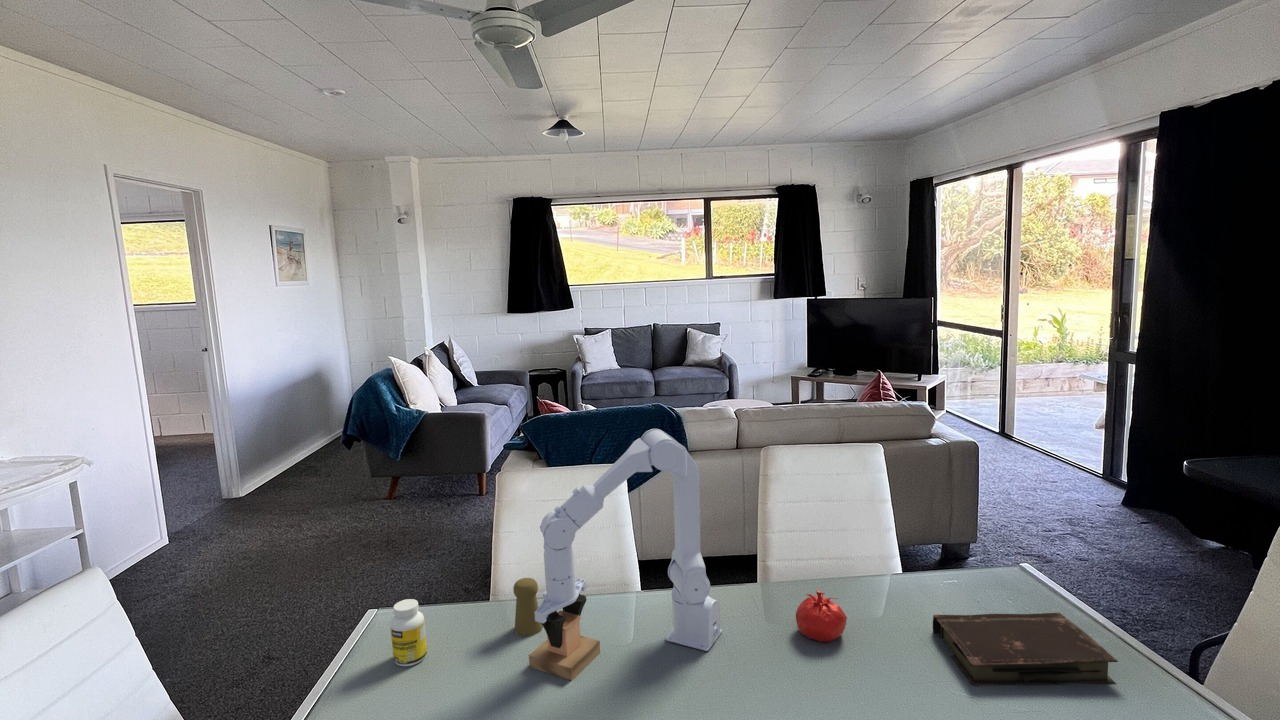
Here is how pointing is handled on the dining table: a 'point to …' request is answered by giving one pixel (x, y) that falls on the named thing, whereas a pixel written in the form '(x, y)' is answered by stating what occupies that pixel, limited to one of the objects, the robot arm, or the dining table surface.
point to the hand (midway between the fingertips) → (564, 638)
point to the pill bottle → (408, 633)
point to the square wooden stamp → (568, 635)
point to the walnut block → (565, 659)
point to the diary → (1023, 649)
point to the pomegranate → (820, 618)
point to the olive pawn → (526, 607)
